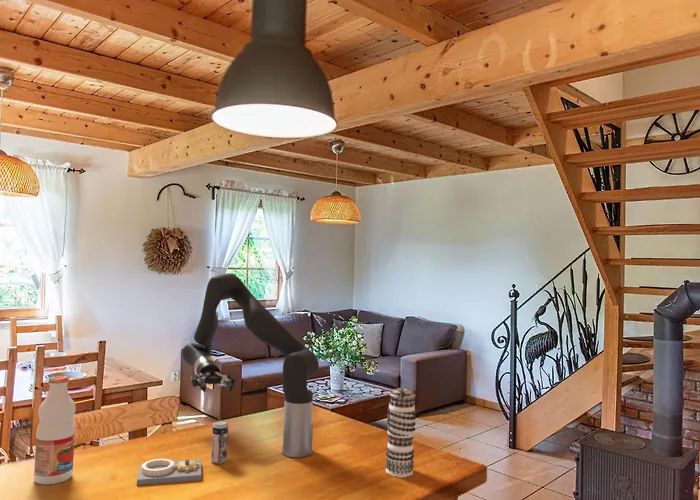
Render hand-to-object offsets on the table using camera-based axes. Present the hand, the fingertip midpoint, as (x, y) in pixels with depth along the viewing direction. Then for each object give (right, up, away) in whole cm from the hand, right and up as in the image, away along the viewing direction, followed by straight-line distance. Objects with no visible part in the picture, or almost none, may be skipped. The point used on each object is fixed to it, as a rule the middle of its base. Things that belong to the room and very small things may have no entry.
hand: (217, 388), depth 172 cm
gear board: (-8, -19, -21) cm, 30 cm away
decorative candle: (+59, -22, -13) cm, 64 cm away
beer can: (+3, -20, -11) cm, 23 cm away
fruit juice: (-39, -18, -27) cm, 51 cm away
